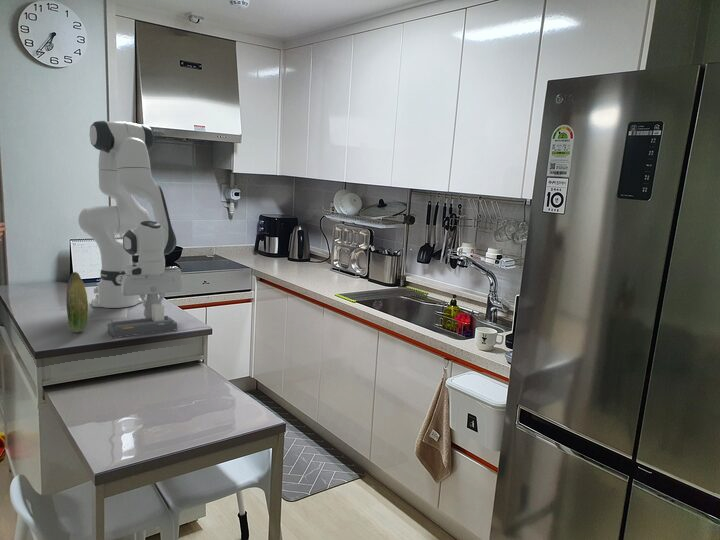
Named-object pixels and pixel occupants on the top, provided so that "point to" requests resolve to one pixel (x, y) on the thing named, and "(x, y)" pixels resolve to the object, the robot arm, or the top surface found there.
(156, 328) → the switch plate
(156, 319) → the slider knob
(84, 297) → the vegetable
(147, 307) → the salt shaker
